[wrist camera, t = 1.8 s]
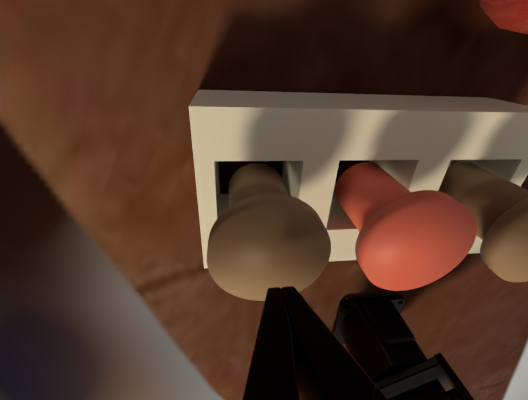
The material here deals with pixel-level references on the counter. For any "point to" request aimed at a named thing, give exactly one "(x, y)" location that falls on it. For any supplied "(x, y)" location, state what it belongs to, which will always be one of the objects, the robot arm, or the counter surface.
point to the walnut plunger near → (265, 237)
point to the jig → (350, 145)
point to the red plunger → (403, 228)
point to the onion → (507, 14)
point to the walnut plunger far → (494, 217)
